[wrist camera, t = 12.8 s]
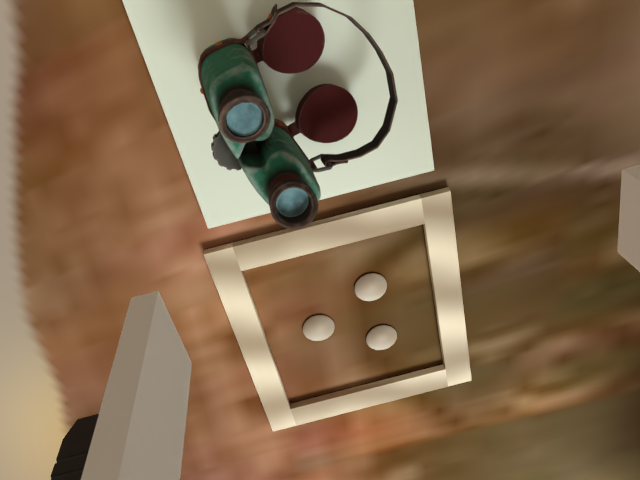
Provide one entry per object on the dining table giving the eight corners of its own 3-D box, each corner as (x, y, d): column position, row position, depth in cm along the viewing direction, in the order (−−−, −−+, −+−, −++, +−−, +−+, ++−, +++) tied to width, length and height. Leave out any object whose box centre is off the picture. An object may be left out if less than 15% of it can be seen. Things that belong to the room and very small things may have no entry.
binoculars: (464, 166, 26) (270, 271, 26) (388, 107, 35) (245, 185, 35) (392, -30, 21) (159, 100, 22) (327, -39, 30) (164, 52, 31)
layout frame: (468, 375, 48) (471, 380, 47) (272, 425, 48) (273, 431, 47) (447, 187, 38) (450, 190, 38) (203, 249, 38) (203, 254, 38)
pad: (429, 164, 37) (434, 170, 37) (208, 221, 37) (208, 228, 37) (393, -117, 29) (398, -117, 28) (110, -43, 29) (106, -42, 28)
